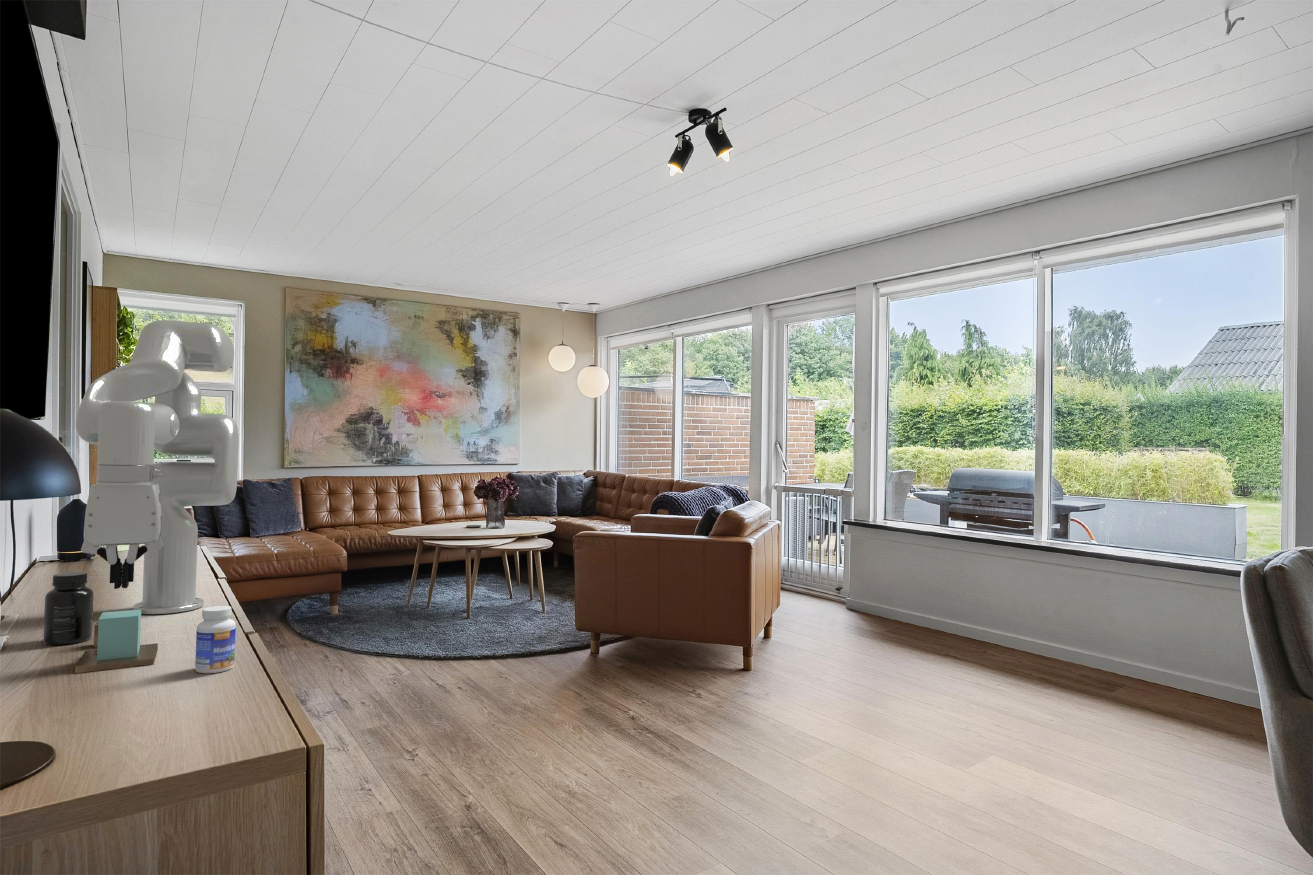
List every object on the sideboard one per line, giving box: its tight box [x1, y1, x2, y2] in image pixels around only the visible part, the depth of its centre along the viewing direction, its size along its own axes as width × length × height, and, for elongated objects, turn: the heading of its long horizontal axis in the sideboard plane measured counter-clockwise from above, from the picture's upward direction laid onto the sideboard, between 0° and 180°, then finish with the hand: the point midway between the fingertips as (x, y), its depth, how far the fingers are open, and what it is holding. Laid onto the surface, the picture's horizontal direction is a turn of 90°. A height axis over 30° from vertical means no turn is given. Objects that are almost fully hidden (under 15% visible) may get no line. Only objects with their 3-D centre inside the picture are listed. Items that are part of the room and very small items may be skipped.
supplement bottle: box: [43, 571, 94, 646], centre depth 128 cm, size 7×7×12 cm
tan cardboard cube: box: [93, 620, 99, 649], centre depth 126 cm, size 3×3×4 cm
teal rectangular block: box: [96, 609, 142, 661], centre depth 118 cm, size 5×5×7 cm
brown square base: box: [74, 643, 159, 674], centre depth 118 cm, size 10×10×7 cm
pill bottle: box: [194, 605, 237, 674], centre depth 115 cm, size 5×5×10 cm
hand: (121, 586), depth 118 cm, fingers closed
